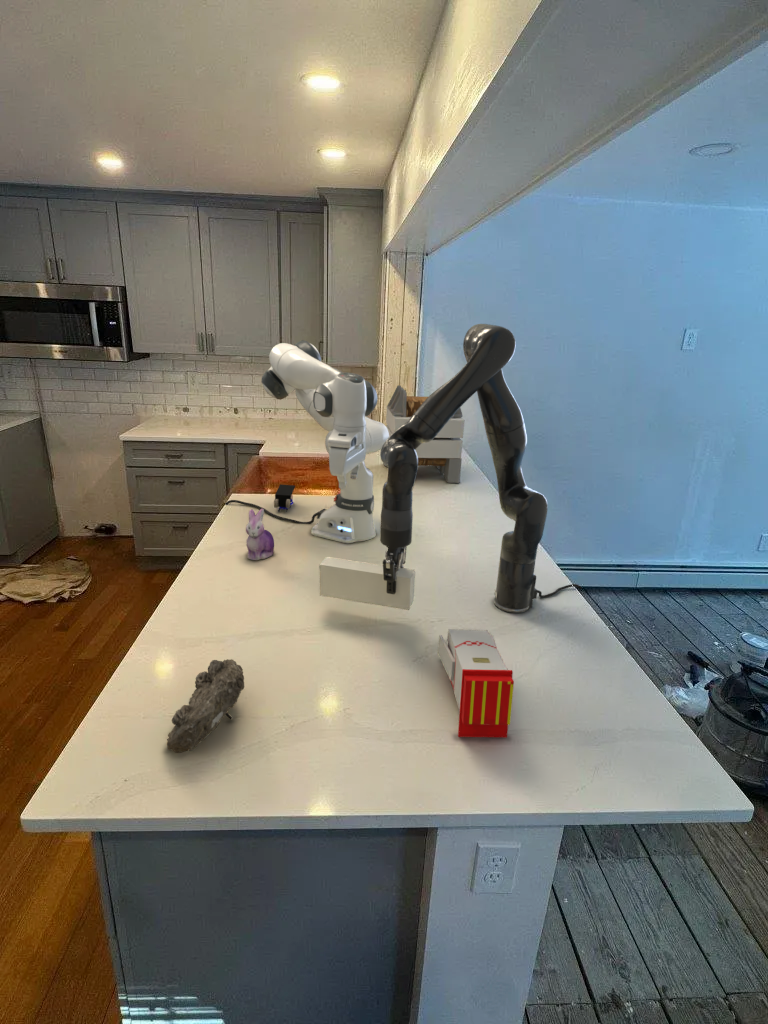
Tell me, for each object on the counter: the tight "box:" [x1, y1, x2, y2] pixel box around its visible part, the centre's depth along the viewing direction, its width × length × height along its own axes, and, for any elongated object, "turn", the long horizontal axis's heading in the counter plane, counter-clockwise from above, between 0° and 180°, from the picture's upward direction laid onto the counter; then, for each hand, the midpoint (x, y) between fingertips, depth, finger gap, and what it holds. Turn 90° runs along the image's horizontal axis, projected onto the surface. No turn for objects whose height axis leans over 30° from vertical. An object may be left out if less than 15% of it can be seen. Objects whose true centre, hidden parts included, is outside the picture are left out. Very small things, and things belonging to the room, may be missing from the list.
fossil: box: [166, 658, 245, 754], centre depth 106 cm, size 22×10×15 cm
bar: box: [318, 556, 416, 611], centre depth 141 cm, size 23×5×9 cm, turn 74°
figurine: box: [245, 507, 275, 561], centre depth 176 cm, size 9×10×15 cm
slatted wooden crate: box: [382, 384, 465, 484], centre depth 268 cm, size 34×33×41 cm
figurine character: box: [273, 484, 296, 513], centre depth 219 cm, size 7×8×15 cm
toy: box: [437, 628, 515, 738], centre depth 117 cm, size 12×13×30 cm
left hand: (348, 483), depth 159 cm, fingers open, 8 cm apart
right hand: (394, 587), depth 140 cm, fingers closed on bar, 5 cm apart
